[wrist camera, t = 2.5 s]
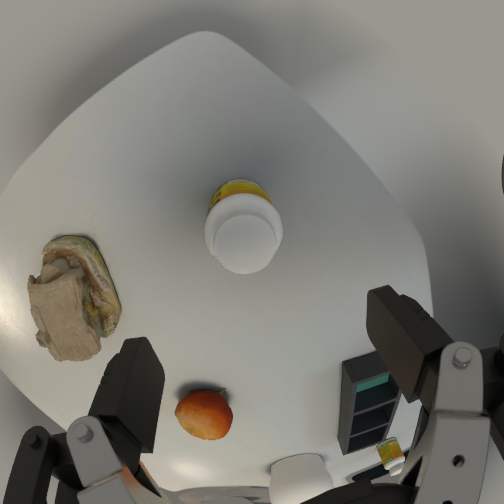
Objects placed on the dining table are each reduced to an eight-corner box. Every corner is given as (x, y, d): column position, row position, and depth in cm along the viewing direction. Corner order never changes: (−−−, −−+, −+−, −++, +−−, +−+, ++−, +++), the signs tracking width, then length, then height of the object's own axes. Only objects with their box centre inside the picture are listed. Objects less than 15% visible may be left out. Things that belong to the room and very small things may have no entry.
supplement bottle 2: (384, 439, 50) (397, 469, 41) (399, 435, 51) (412, 464, 42) (372, 449, 52) (383, 479, 43) (388, 446, 53) (399, 474, 44)
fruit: (249, 415, 37) (223, 455, 31) (206, 400, 41) (179, 434, 35) (240, 384, 34) (208, 428, 28) (192, 368, 38) (159, 405, 31)
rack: (397, 343, 36) (410, 362, 32) (377, 425, 46) (384, 441, 42) (342, 361, 36) (352, 383, 32) (337, 439, 46) (343, 455, 42)
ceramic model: (130, 339, 32) (108, 398, 23) (61, 332, 31) (30, 381, 22) (107, 232, 27) (60, 276, 17) (32, 236, 26) (-19, 273, 16)
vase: (338, 455, 50) (358, 523, 32) (294, 477, 54) (306, 539, 35) (298, 447, 46) (316, 530, 27) (252, 470, 49) (260, 542, 31)
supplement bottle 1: (215, 173, 25) (206, 194, 16) (273, 183, 26) (299, 210, 17) (206, 230, 27) (195, 279, 18) (262, 238, 28) (279, 290, 19)
